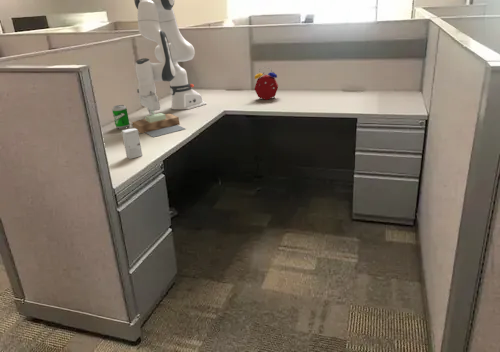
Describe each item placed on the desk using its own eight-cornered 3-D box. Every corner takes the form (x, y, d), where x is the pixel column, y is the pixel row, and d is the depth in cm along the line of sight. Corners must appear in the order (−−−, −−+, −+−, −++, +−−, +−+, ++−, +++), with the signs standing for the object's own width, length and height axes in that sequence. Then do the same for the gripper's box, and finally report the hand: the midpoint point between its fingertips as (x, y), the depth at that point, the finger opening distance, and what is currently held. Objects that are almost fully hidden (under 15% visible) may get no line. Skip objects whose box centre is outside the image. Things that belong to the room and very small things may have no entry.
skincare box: (129, 159, 181) (124, 132, 177) (126, 156, 185) (120, 130, 180) (143, 155, 184) (138, 129, 180) (139, 153, 188) (134, 127, 183)
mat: (176, 125, 226) (176, 124, 226) (185, 129, 218) (185, 128, 218) (145, 132, 217) (145, 132, 217) (153, 137, 209) (153, 136, 209)
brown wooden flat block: (170, 120, 237) (169, 113, 235) (179, 124, 228) (178, 117, 226) (133, 129, 226) (131, 121, 225) (141, 133, 217) (139, 126, 215)
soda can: (121, 125, 236) (117, 104, 231) (132, 125, 233) (128, 104, 228) (113, 129, 229) (108, 107, 224) (124, 129, 226) (120, 108, 222)
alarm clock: (278, 97, 269) (277, 65, 261) (278, 100, 261) (276, 67, 253) (256, 98, 271) (253, 66, 263) (254, 101, 263) (252, 69, 255)
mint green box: (161, 117, 229) (161, 112, 228) (166, 119, 224) (165, 114, 223) (146, 120, 225) (145, 116, 224) (150, 122, 220) (149, 118, 219)
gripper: (160, 91, 215) (165, 118, 221) (146, 87, 231) (150, 111, 237) (149, 94, 212) (153, 120, 218) (135, 89, 228) (140, 114, 234)
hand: (152, 115), depth 227 cm, fingers closed
